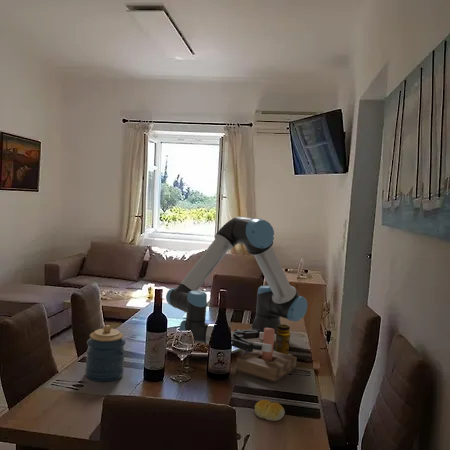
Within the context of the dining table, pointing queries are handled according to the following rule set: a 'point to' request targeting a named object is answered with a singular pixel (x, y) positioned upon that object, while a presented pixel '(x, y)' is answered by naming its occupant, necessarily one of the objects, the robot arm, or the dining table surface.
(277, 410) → the bread roll
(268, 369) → the socket block
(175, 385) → the dining table surface
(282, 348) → the condiment
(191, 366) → the dining table surface
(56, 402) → the dining table surface
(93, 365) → the canister
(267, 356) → the peg
